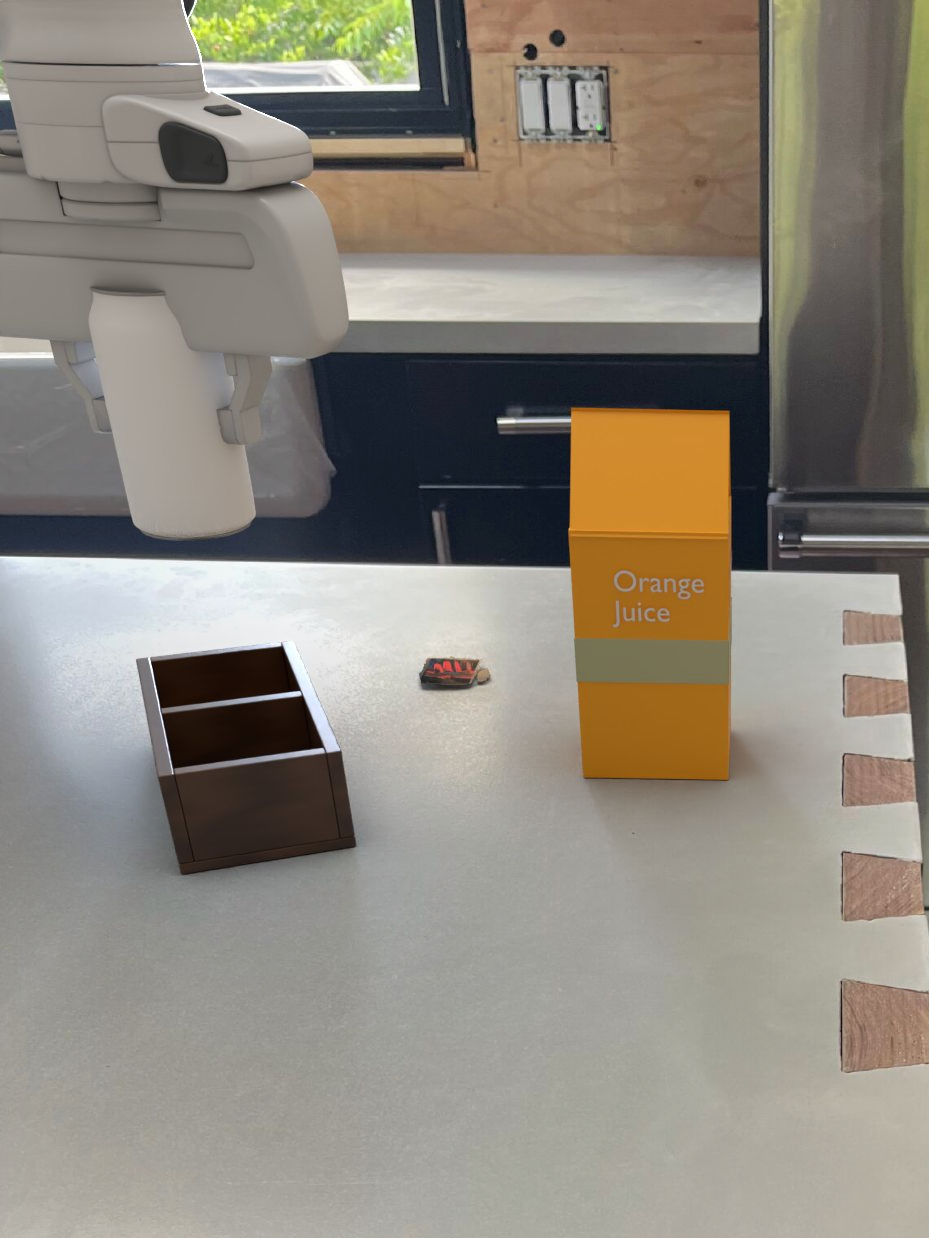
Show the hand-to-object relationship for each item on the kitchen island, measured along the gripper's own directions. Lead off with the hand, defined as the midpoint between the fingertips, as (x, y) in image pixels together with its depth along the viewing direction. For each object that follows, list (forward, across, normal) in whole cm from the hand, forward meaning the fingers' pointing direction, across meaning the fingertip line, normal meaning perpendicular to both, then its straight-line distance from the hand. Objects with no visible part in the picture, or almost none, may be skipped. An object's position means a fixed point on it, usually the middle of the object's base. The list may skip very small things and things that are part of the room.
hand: (178, 437), depth 79 cm
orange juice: (+19, +24, +8) cm, 31 cm away
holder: (+18, +3, -4) cm, 19 cm away
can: (+5, 0, 0) cm, 5 cm away
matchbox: (+18, +7, +16) cm, 25 cm away
